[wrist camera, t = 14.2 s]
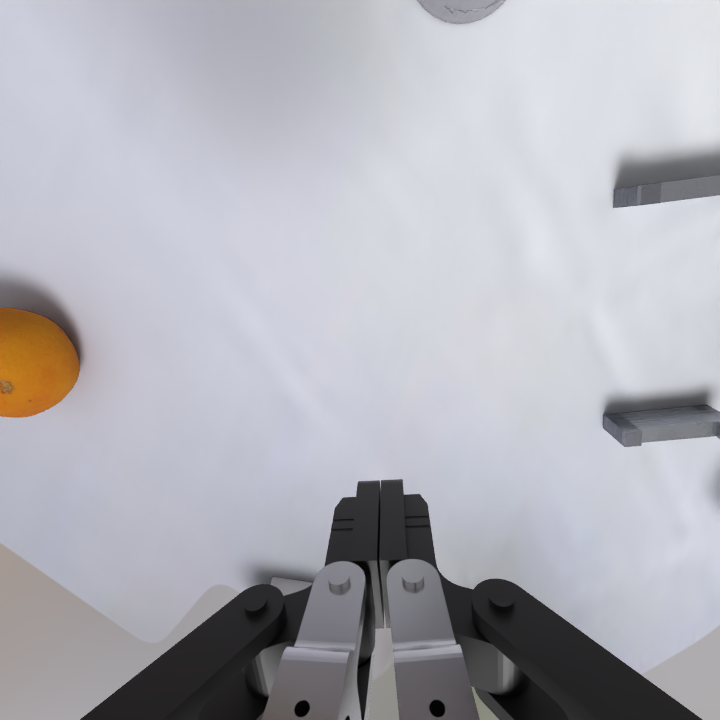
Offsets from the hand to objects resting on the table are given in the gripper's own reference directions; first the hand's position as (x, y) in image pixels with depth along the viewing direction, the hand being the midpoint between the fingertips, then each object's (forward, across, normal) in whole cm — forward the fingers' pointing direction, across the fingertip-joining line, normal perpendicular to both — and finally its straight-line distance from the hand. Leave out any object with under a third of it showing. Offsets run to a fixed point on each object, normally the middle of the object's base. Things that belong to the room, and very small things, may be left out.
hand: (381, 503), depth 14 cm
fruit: (+28, +35, 0) cm, 45 cm away
